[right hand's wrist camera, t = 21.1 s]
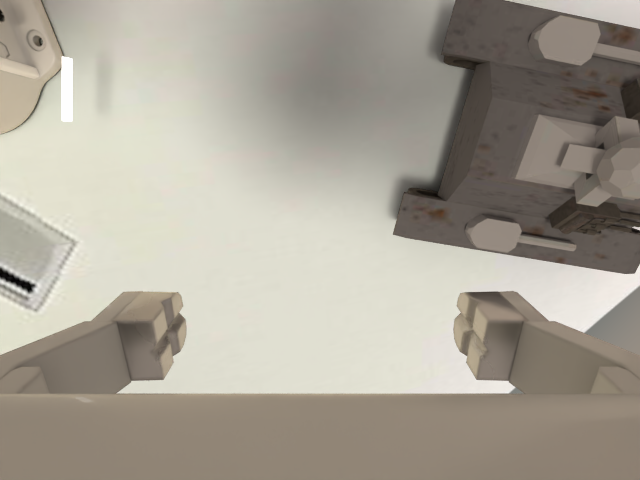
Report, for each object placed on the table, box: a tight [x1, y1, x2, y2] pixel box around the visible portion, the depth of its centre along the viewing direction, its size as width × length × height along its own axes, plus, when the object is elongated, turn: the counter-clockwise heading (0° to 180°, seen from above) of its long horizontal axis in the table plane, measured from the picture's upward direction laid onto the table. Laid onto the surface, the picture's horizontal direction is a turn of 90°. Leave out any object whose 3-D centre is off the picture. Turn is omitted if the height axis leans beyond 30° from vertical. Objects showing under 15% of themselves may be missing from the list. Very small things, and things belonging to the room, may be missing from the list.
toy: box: [393, 0, 640, 274], centre depth 28 cm, size 25×20×15 cm
